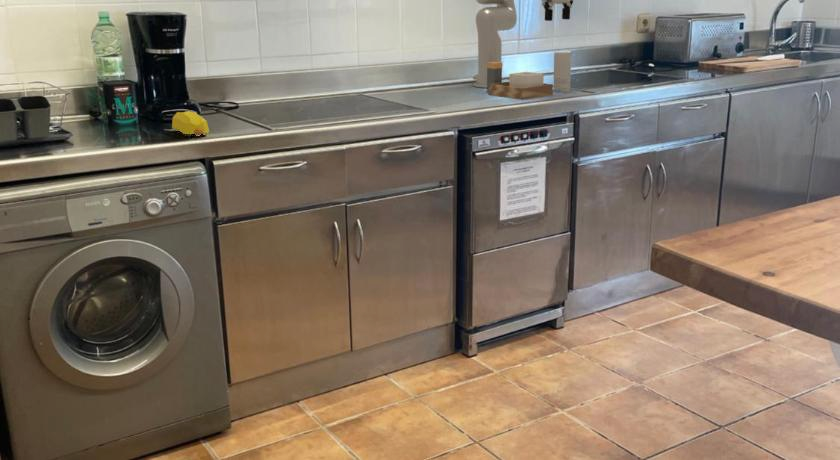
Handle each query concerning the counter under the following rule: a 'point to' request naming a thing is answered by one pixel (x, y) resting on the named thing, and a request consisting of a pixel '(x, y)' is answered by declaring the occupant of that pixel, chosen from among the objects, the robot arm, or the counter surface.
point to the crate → (520, 91)
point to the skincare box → (562, 71)
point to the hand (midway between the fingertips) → (557, 19)
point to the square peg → (494, 73)
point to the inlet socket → (526, 79)
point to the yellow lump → (189, 123)
